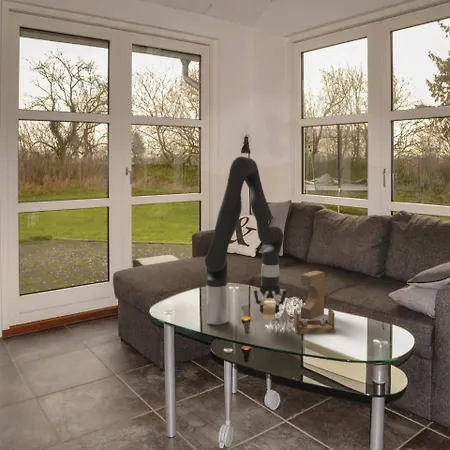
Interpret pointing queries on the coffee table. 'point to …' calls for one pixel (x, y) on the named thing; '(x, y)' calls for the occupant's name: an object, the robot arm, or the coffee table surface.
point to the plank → (269, 310)
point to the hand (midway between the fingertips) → (269, 312)
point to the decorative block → (313, 294)
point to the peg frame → (314, 324)
